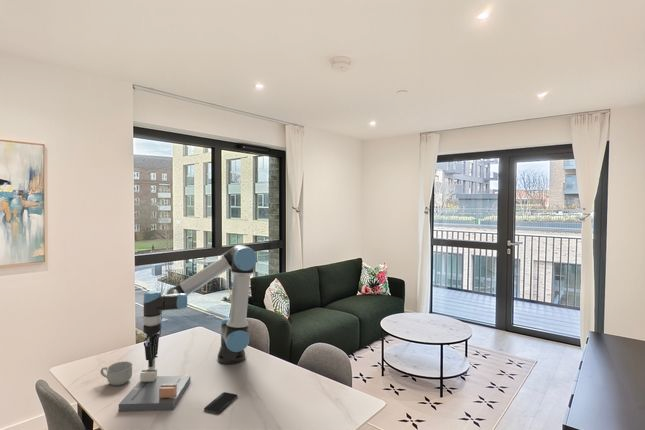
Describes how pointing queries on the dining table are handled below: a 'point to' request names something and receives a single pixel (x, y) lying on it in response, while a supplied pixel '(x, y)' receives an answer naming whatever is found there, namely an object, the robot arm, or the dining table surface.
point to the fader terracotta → (167, 390)
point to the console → (154, 394)
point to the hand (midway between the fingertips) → (151, 372)
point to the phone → (220, 403)
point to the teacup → (118, 373)
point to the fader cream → (148, 375)
